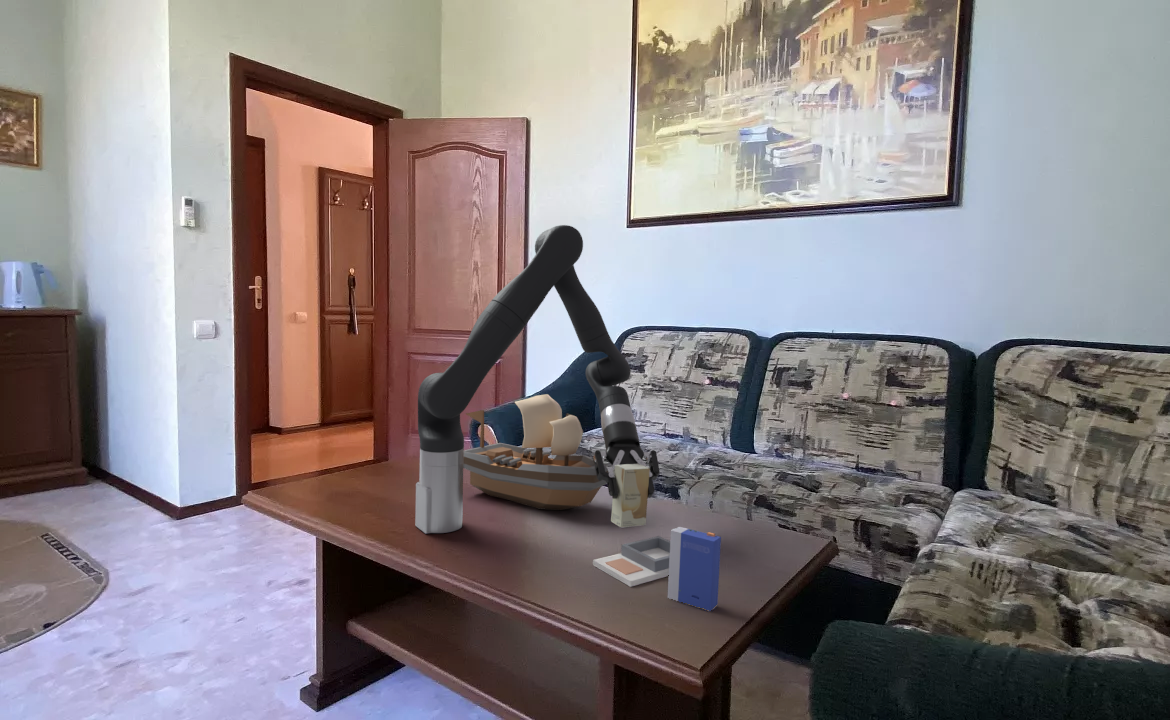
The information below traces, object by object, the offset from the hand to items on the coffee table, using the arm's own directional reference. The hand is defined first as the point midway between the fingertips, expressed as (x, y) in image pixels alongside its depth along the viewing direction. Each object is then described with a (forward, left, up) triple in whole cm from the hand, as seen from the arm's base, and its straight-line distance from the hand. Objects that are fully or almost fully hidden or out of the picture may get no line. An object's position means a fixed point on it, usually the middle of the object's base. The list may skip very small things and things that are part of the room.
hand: (632, 496), depth 129 cm
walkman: (-8, -26, -10) cm, 29 cm away
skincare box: (+1, +2, -7) cm, 7 cm away
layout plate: (-5, -10, -10) cm, 15 cm away
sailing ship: (-3, +38, -10) cm, 40 cm away
